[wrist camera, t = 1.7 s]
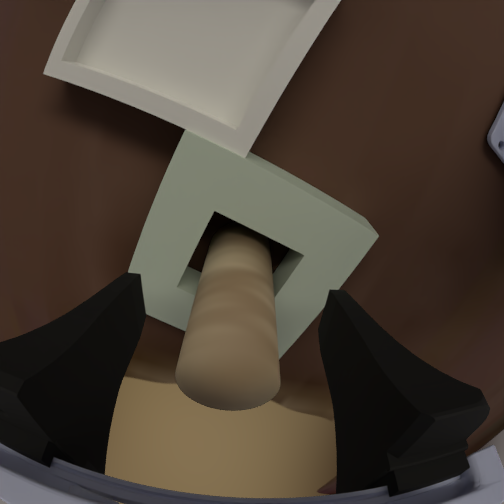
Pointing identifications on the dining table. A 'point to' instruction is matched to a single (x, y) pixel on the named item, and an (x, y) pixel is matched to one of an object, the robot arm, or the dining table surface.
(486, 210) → the dining table surface
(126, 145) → the dining table surface
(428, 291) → the dining table surface
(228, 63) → the tray
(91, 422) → the robot arm
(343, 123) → the dining table surface
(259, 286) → the peg
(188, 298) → the holder
